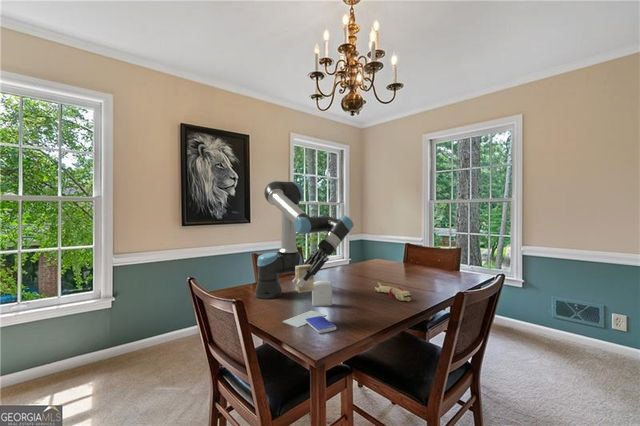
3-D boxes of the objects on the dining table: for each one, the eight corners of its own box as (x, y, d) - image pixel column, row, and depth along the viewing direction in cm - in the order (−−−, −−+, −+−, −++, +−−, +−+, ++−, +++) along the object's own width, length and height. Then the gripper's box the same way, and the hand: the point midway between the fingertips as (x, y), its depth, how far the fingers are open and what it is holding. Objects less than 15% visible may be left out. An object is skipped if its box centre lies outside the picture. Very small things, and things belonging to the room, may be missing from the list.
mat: (282, 322, 130) (282, 321, 130) (311, 311, 144) (311, 310, 144) (297, 327, 124) (297, 327, 124) (326, 315, 137) (326, 314, 137)
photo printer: (312, 306, 150) (311, 282, 150) (312, 303, 155) (312, 279, 154) (332, 306, 150) (332, 281, 150) (332, 303, 154) (332, 279, 154)
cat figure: (371, 294, 174) (403, 303, 152) (370, 279, 174) (401, 285, 152) (384, 292, 178) (417, 299, 157) (383, 277, 179) (415, 282, 157)
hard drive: (336, 325, 122) (322, 315, 133) (318, 329, 118) (305, 318, 129) (336, 329, 122) (322, 318, 133) (318, 333, 118) (305, 322, 129)
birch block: (295, 290, 134) (295, 266, 133) (309, 288, 137) (309, 264, 137) (299, 292, 130) (298, 267, 130) (313, 290, 133) (313, 265, 133)
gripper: (343, 251, 133) (310, 294, 125) (325, 247, 148) (294, 285, 141) (333, 240, 130) (298, 283, 123) (315, 237, 145) (283, 275, 138)
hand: (296, 284), depth 132 cm, fingers closed on birch block, 4 cm apart
